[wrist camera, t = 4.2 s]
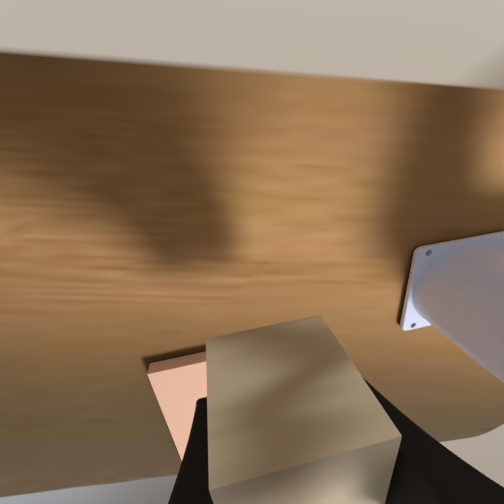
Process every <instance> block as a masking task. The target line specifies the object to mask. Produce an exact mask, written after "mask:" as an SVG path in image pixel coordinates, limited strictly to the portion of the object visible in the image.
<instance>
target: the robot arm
mask: <svg viewBox="0 0 504 504" xmlns="http://www.w3.org/2000/svg"><path fill="white" fill-rule="evenodd" d="M426 252H427V253H426ZM429 325H432V326H433V327H435V328H436V329H437V330H438V331H440V332H441V333H442V334H443V335H445V336H446V337H447V338H448V339H450V340H451V341H452V342H453V343H454V344H456V345H457V346H458V347H459V348H461V349H462V350H463V351H464V352H466V353H467V354H468V355H469V356H471V357H472V358H473V359H474V360H475V361H477V362H478V363H479V364H480V365H482V366H483V367H484V368H485V369H487V370H488V371H489V372H490V373H492V374H493V375H494V376H495V377H497V378H498V379H499V380H500V381H501V382H503V383H504V231H501V232H496V233H490V234H485V235H479V236H474V237H468V238H463V239H458V240H452V241H447V242H441V243H436V244H430V245H425V246H420V247H418V248H416V249H415V251H414V254H413V259H412V264H411V269H410V275H409V280H408V285H407V291H406V296H405V301H404V307H403V312H402V317H401V322H400V327H401V328H402V329H403V330H404V331H407V330H412V329H416V328H421V327H425V326H429ZM362 378H363V377H362ZM363 379H364V378H363ZM364 380H365V379H364ZM365 382H366V383H367V385H368V386H369V388H370V389H371V391H372V392H373V394H374V395H375V397H376V398H377V400H378V401H379V403H380V404H381V406H382V407H383V409H384V410H385V412H386V413H387V415H388V416H389V418H390V419H391V421H392V422H393V424H394V425H395V426H396V428H397V429H398V431H399V432H400V434H401V435H402V438H401V442H400V446H399V450H398V454H397V457H396V461H395V465H394V469H393V473H392V477H391V481H390V485H389V489H388V493H387V497H386V501H385V504H504V488H503V487H502V486H500V485H499V484H497V483H496V482H494V481H493V480H491V479H490V478H488V477H487V476H485V475H484V474H482V473H481V472H479V471H478V470H476V469H475V468H473V467H472V466H471V465H469V464H468V463H466V462H465V461H463V460H462V459H461V458H459V457H458V456H457V455H455V454H454V453H452V452H451V451H450V450H448V449H447V448H446V447H444V446H443V445H442V444H440V443H439V442H438V441H436V440H435V439H434V438H433V437H431V436H430V435H429V434H427V433H426V432H425V431H424V430H422V429H421V428H420V427H419V426H417V425H416V424H415V423H414V422H413V421H411V420H410V419H409V418H408V417H407V416H405V415H404V414H403V413H402V412H401V411H400V410H398V409H397V408H396V407H395V406H394V405H393V404H391V403H390V402H389V401H388V400H387V399H386V398H385V397H384V396H382V395H381V394H380V393H379V392H378V391H377V390H376V389H375V388H374V387H373V386H372V385H370V384H369V383H368V382H367V381H366V380H365ZM168 504H214V503H213V501H212V498H211V495H210V492H209V471H208V422H207V397H203V398H199V399H198V400H197V401H196V407H195V413H194V418H193V422H192V427H191V431H190V435H189V438H188V442H187V446H186V449H185V453H184V456H183V460H182V463H181V466H180V470H179V473H178V476H177V479H176V482H175V485H174V488H173V491H172V494H171V497H170V500H169V503H168Z"/></svg>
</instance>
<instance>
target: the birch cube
mask: <svg viewBox="0 0 504 504" xmlns="http://www.w3.org/2000/svg"><path fill="white" fill-rule="evenodd" d="M206 372H207V422H208V471H209V492H210V495H211V498H212V501H213V503H214V504H385V501H386V497H387V493H388V489H389V485H390V481H391V477H392V473H393V469H394V465H395V461H396V457H397V454H398V450H399V446H400V442H401V438H402V435H401V434H400V432H399V431H398V429H397V428H396V426H395V425H394V424H393V422H392V421H391V419H390V418H389V416H388V415H387V413H386V412H385V410H384V409H383V407H382V406H381V404H380V403H379V401H378V400H377V398H376V397H375V395H374V394H373V392H372V391H371V389H370V388H369V386H368V385H367V383H366V382H365V380H364V379H363V378H362V376H361V375H360V373H359V372H358V370H357V369H356V367H355V366H354V364H353V363H352V361H351V360H350V358H349V357H348V355H347V354H346V352H345V351H344V349H343V348H342V346H341V345H340V343H339V342H338V340H337V339H336V337H335V336H334V335H333V333H332V332H331V330H330V329H329V327H328V326H327V324H326V323H325V321H324V320H323V318H322V317H321V315H318V316H313V317H308V318H304V319H299V320H294V321H289V322H284V323H280V324H275V325H270V326H265V327H260V328H256V329H251V330H246V331H241V332H236V333H232V334H227V335H222V336H217V337H212V338H208V339H206Z"/></svg>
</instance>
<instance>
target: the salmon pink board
mask: <svg viewBox="0 0 504 504" xmlns="http://www.w3.org/2000/svg"><path fill="white" fill-rule="evenodd" d="M147 375H148V377H149V380H150V382H151V385H152V387H153V390H154V392H155V395H156V397H157V400H158V402H159V405H160V407H161V410H162V412H163V415H164V417H165V420H166V422H167V425H168V427H169V430H170V432H171V435H172V437H173V440H174V442H175V445H176V447H177V450H178V452H179V455H180V457H181V460H183V456H184V453H185V449H186V446H187V442H188V438H189V435H190V431H191V427H192V422H193V418H194V413H195V407H196V401H197V400H198V399H199V398H203V397H207V372H206V351H205V352H200V353H196V354H191V355H186V356H182V357H177V358H172V359H168V360H163V361H158V362H154V363H150V365H149V369H148V374H147Z"/></svg>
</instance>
